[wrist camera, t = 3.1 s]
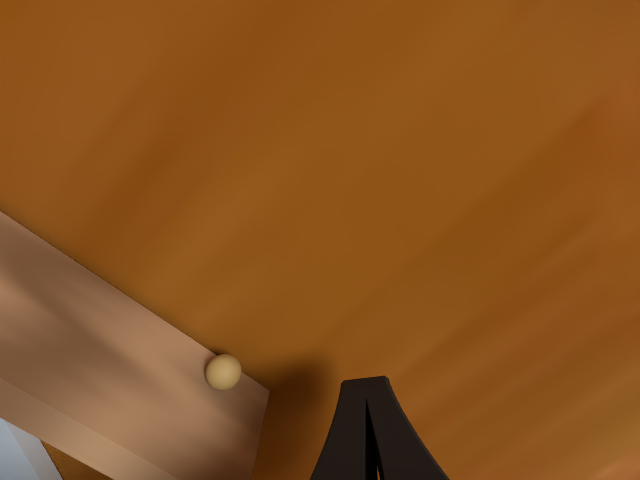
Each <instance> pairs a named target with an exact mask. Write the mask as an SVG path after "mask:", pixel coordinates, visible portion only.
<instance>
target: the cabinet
mask: <svg viewBox="0 0 640 480" xmlns="http://www.w3.org/2000/svg"><path fill="white" fill-rule="evenodd" d="M0 480H63V479H62V477H61V475H60V474H59V472H58V470H57V469H56V467H55V465H54V463H53V462H52V460H51V458H50V457H49V455H48V453H47V451H46V450H45V448H44V446H43V445H42V443H41V441H40V439H38V438H36V437H35V436H33V435H31V434H29V433H27V432H25V431H24V430H22V429H20V428H18V427H16V426H14V425H13V424H11V423H9V422H7V421H5V420H3V419H2V418H0Z"/></svg>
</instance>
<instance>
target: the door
mask: <svg viewBox="0 0 640 480" xmlns="http://www.w3.org/2000/svg"><path fill="white" fill-rule="evenodd" d="M269 393H270V390H268V389H267V388H265V387H264V386H262V385H261V384H259V383H258V382H256V381H255V380H253V379H252V378H250V377H249V376H247V375H246V374H244V373H242V372H241V366H240V363H239V361H238V360H237V359H236V358H235V357H234V356H232V355H229V354H221V355H218V356H217V355H215V354H214V353H212V352H211V351H209V350H208V349H206V348H205V347H203V346H202V345H200V344H199V343H197V342H196V341H194V340H193V339H191V338H190V337H188V336H187V335H185V334H184V333H182V332H181V331H179V330H178V329H176V328H175V327H173V326H172V325H170V324H169V323H167V322H166V321H164V320H163V319H161V318H160V317H158V316H157V315H155V314H154V313H152V312H151V311H149V310H148V309H146V308H145V307H143V306H142V305H140V304H139V303H137V302H136V301H134V300H133V299H131V298H130V297H128V296H127V295H125V294H124V293H122V292H121V291H119V290H118V289H116V288H115V287H113V286H112V285H110V284H109V283H107V282H106V281H104V280H103V279H101V278H100V277H98V276H97V275H95V274H94V273H92V272H91V271H89V270H88V269H86V268H85V267H83V266H82V265H80V264H79V263H77V262H76V261H74V260H73V259H71V258H70V257H68V256H67V255H65V254H64V253H62V252H61V251H59V250H58V249H56V248H55V247H53V246H52V245H50V244H49V243H47V242H46V241H44V240H43V239H41V238H40V237H38V236H37V235H35V234H34V233H32V232H31V231H29V230H28V229H26V228H25V227H23V226H22V225H20V224H19V223H17V222H16V221H14V220H13V219H11V218H10V217H8V216H7V215H5V214H4V213H2V212H1V211H0V418H2V419H3V420H5V421H7V422H9V423H11V424H13V425H14V426H16V427H18V428H20V429H22V430H24V431H25V432H27V433H29V434H31V435H33V436H35V437H36V438H38V439H40V440H42V441H44V442H46V443H48V444H49V445H51V446H53V447H55V448H57V449H59V450H60V451H62V452H64V453H66V454H68V455H70V456H71V457H73V458H75V459H77V460H79V461H81V462H82V463H84V464H86V465H88V466H90V467H92V468H94V469H95V470H97V471H99V472H101V473H103V474H105V475H106V476H108V477H110V478H112V479H114V480H251V478H252V473H253V469H254V464H255V459H256V454H257V450H258V445H259V440H260V435H261V431H262V426H263V421H264V416H265V412H266V407H267V402H268V397H269Z"/></svg>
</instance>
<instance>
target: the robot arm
mask: <svg viewBox="0 0 640 480" xmlns="http://www.w3.org/2000/svg"><path fill="white" fill-rule="evenodd" d="M377 467H378V472H379V476H380V480H450V479H449V478H448V477H447V475H446V474H445V473H444V472H443V470H442V469H441V468H440V466H439V465H438V464H437V462H436V461H435V460H434V458H433V457H432V455H431V454H430V452H429V451H428V450H427V448H426V447H425V445H424V444H423V442H422V441H421V439H420V438H419V436H418V435H417V433H416V432H415V430H414V428H413V427H412V425H411V423H410V422H409V420H408V419H407V417H406V415H405V413H404V412H403V410H402V408H401V406H400V404H399V402H398V400H397V398H396V396H395V394H394V392H393V390H392V387H391V385H390V382H389V379H388V378H387V377H386V376H378V377H369V378H361V379H352V380H344V381H343V382H342V383H341V388H340V394H339V399H338V403H337V407H336V411H335V414H334V418H333V421H332V424H331V427H330V430H329V433H328V436H327V439H326V441H325V444H324V447H323V449H322V452H321V454H320V457H319V459H318V462H317V464H316V466H315V469H314V471H313V473H312V476H311V478H310V480H378V476H377Z"/></svg>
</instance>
